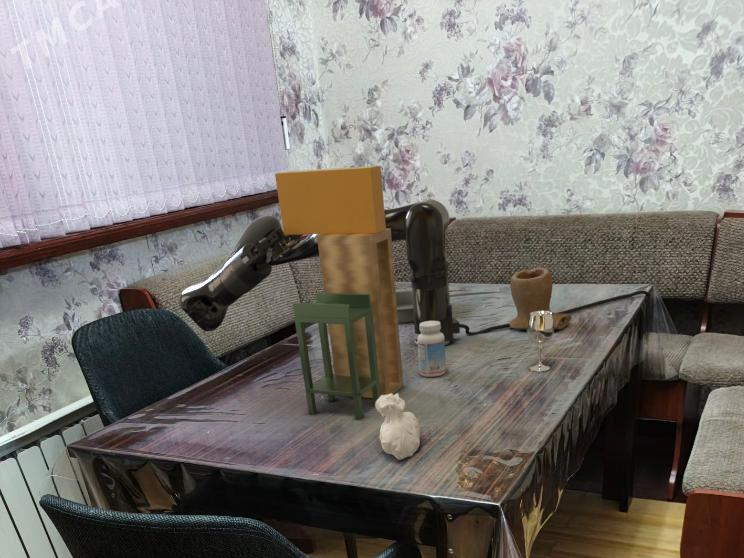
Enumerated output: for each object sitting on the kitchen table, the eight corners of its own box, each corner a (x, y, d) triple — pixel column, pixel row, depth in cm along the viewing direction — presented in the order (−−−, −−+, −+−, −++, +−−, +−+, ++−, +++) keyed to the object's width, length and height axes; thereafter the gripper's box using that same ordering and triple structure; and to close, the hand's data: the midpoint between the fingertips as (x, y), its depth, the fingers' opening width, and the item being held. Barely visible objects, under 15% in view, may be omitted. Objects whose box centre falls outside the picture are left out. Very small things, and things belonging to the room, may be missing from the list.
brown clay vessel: (502, 334, 183) (502, 273, 175) (516, 322, 192) (516, 264, 185) (560, 336, 177) (563, 274, 169) (572, 324, 186) (574, 264, 178)
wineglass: (552, 372, 154) (554, 316, 148) (525, 372, 155) (526, 317, 149) (553, 364, 159) (554, 309, 153) (527, 364, 160) (527, 310, 154)
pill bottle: (449, 369, 161) (447, 319, 156) (442, 378, 156) (439, 327, 151) (424, 368, 163) (421, 319, 158) (416, 377, 158) (412, 326, 153)
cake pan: (463, 306, 213) (463, 290, 210) (421, 327, 195) (420, 310, 193) (395, 302, 225) (393, 287, 223) (349, 321, 207) (348, 305, 205)
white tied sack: (411, 448, 130) (372, 400, 128) (441, 426, 126) (401, 376, 124) (388, 476, 121) (345, 425, 118) (420, 454, 116) (376, 400, 114)
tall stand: (337, 395, 152) (316, 236, 136) (355, 383, 158) (337, 229, 142) (386, 399, 147) (371, 235, 131) (403, 386, 153) (390, 228, 137)
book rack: (309, 414, 144) (292, 303, 133) (331, 399, 150) (317, 292, 139) (360, 419, 139) (347, 305, 128) (381, 403, 146) (370, 293, 134)
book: (283, 235, 141) (274, 173, 136) (294, 231, 144) (286, 171, 139) (376, 233, 133) (370, 167, 127) (386, 230, 136) (380, 165, 130)
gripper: (214, 261, 146) (262, 216, 136) (254, 248, 156) (302, 206, 147) (235, 293, 147) (284, 252, 137) (273, 279, 158) (322, 239, 148)
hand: (293, 228), depth 142 cm, fingers open, 8 cm apart
